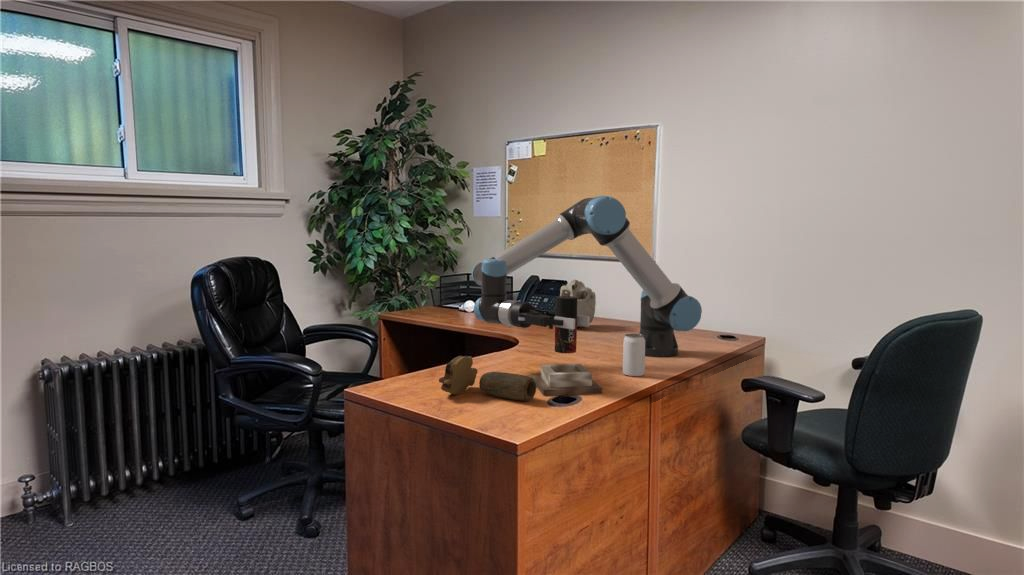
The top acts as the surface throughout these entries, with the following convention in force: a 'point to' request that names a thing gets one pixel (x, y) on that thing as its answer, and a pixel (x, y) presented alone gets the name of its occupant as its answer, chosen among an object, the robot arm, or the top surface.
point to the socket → (566, 380)
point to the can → (634, 355)
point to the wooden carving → (458, 375)
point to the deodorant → (564, 336)
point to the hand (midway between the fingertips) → (581, 322)
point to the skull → (581, 298)
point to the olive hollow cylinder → (508, 385)
